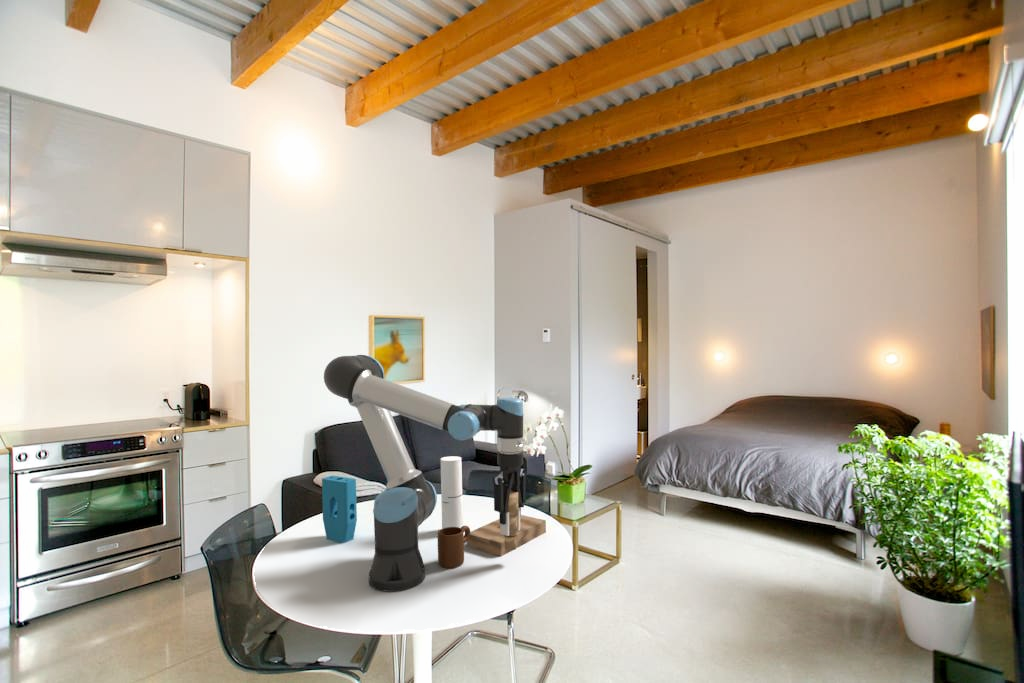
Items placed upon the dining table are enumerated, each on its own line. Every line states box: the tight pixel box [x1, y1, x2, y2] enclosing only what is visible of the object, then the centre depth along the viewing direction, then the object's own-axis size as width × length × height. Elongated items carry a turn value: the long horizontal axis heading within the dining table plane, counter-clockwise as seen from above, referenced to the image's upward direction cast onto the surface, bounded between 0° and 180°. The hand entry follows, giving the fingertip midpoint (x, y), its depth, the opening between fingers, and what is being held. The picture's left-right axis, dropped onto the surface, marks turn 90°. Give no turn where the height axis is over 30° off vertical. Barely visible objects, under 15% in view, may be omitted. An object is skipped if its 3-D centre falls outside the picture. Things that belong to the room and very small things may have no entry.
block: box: [321, 475, 358, 544], centre depth 173 cm, size 12×5×20 cm, turn 59°
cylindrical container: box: [440, 455, 464, 529], centre depth 177 cm, size 7×7×25 cm
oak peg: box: [503, 490, 518, 552], centre depth 150 cm, size 5×5×16 cm
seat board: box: [466, 514, 547, 557], centre depth 169 cm, size 24×14×4 cm, turn 142°
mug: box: [437, 525, 471, 569], centre depth 153 cm, size 12×8×9 cm, turn 143°
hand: (510, 531), depth 150 cm, fingers closed on oak peg, 4 cm apart
